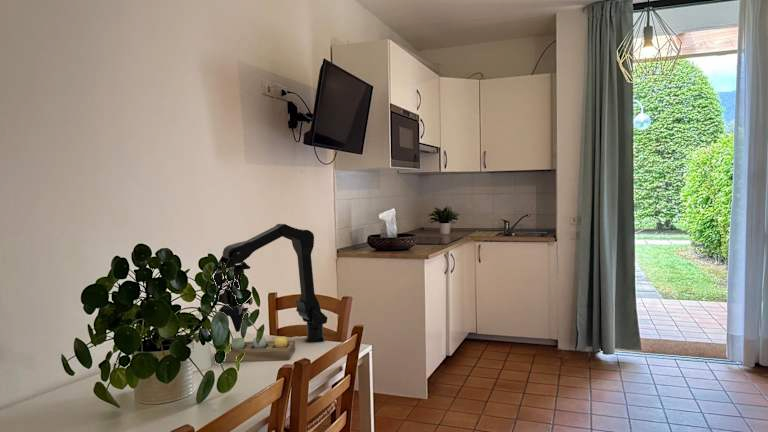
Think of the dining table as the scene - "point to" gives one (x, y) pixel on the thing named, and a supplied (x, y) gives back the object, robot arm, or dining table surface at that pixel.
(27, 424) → the dining table surface
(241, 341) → the button sage
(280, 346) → the button amber
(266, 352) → the brown button tray
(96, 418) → the dining table surface
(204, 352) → the cup
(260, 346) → the button slate
